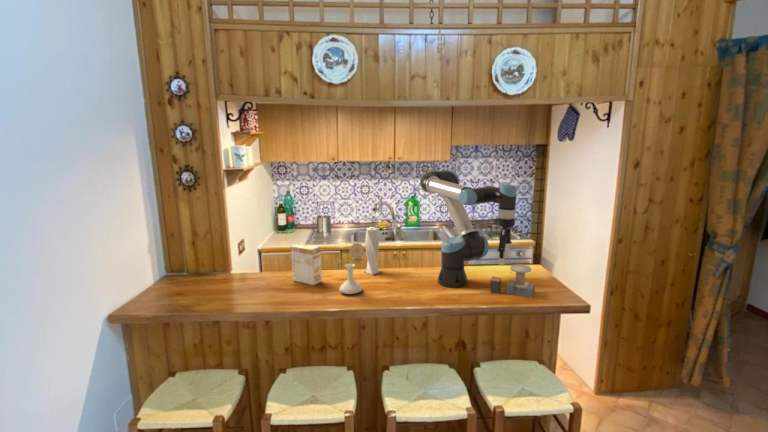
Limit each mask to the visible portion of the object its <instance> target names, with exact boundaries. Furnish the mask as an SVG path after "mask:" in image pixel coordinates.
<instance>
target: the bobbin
mask: <svg viewBox="0 0 768 432" xmlns="http://www.w3.org/2000/svg"><path fill="white" fill-rule="evenodd" d="M509 268H510V270H511V271H512V272H515V279H514V280H513V281H516V288H519V289H525V290H526V287H527V285H528V283H529V282H528V281H526V274H528V273H531V272H532V267H531V266H529V265H525V264H512V265H510V266H509Z"/></svg>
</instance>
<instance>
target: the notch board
mask: <svg viewBox="0 0 768 432" xmlns="http://www.w3.org/2000/svg"><path fill="white" fill-rule="evenodd" d="M535 291H536V284H535V283H531V282H528V285H527V287H526V289H519V288H516V281H514V280H508V282H507V284H506V285H505V294H506V295H512V296H513V295H514V296H519V297H524V298H530V299H532V298H533V296H534V294H535Z"/></svg>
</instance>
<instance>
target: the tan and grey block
mask: <svg viewBox="0 0 768 432" xmlns="http://www.w3.org/2000/svg"><path fill="white" fill-rule="evenodd" d="M489 281H490V288H489V289H490V291H489V293H491V294H495V295H496V294H497V295H499V294H500V293H501V291H502V290H501V287H502V286H501V285H502V277H499V276H492V277H490V280H489Z"/></svg>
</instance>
